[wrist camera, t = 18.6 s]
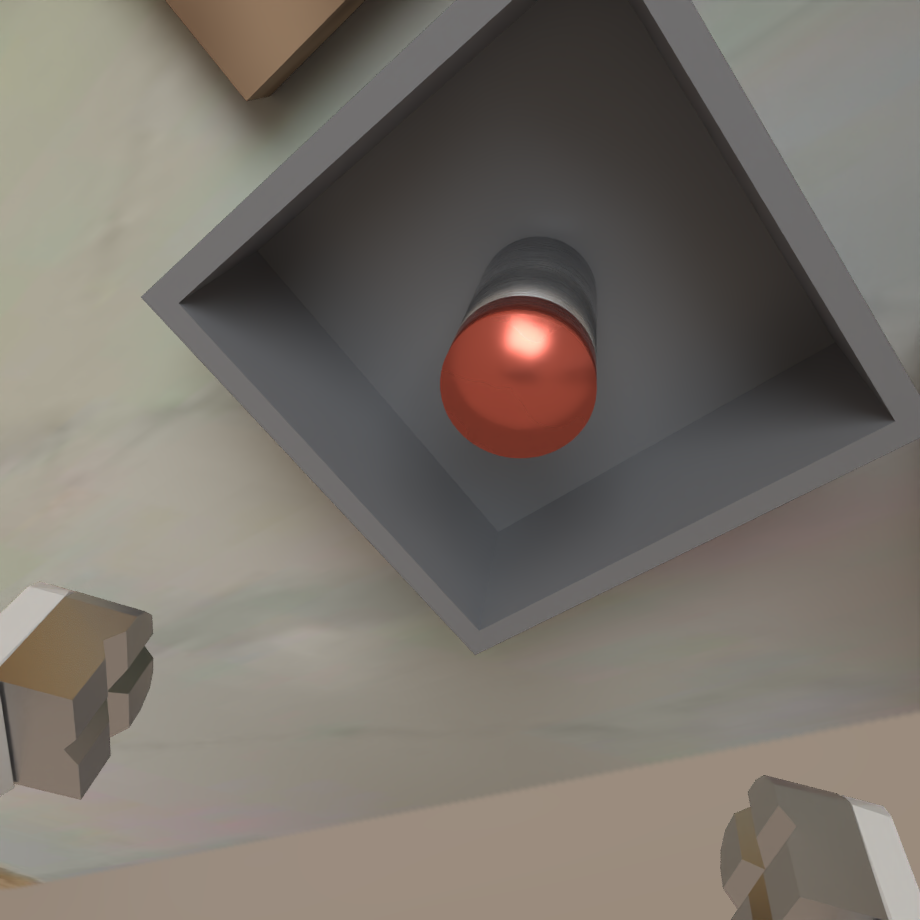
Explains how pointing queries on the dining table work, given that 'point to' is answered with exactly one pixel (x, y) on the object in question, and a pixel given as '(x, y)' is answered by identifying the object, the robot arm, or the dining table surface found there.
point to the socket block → (261, 36)
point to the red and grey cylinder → (525, 352)
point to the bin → (618, 306)
